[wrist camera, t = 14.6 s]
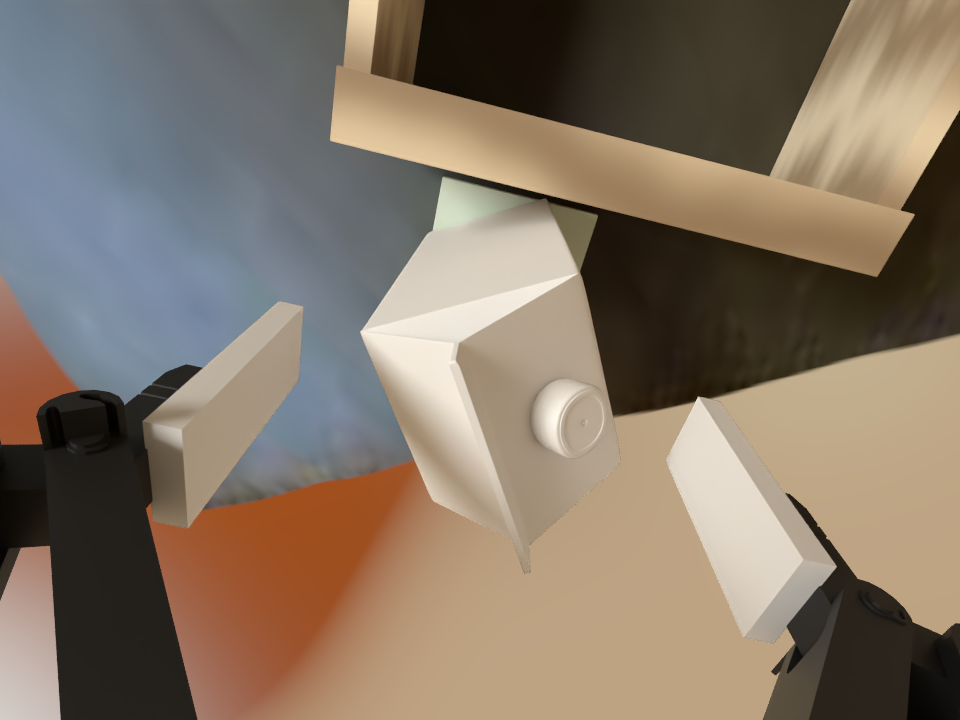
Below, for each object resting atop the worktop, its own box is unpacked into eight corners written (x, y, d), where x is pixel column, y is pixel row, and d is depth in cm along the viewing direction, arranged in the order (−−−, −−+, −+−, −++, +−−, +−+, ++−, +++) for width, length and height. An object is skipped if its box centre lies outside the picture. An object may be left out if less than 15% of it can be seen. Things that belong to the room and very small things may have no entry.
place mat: (444, 175, 28) (442, 177, 28) (596, 213, 29) (598, 215, 28) (417, 319, 32) (415, 323, 32) (551, 350, 33) (552, 354, 32)
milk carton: (463, 339, 32) (413, 593, 15) (427, 231, 29) (314, 395, 12) (573, 311, 31) (653, 553, 14) (546, 196, 28) (606, 323, 11)
